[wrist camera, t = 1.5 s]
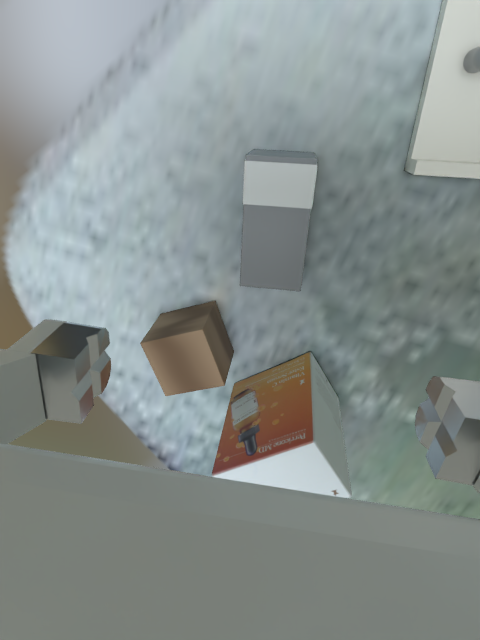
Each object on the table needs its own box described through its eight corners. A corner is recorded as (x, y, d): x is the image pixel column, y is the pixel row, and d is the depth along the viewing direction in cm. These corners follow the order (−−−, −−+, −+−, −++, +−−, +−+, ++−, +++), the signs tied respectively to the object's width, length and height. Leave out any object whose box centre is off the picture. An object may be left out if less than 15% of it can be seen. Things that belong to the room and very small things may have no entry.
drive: (314, 152, 26) (318, 159, 21) (300, 265, 30) (301, 292, 25) (253, 149, 26) (244, 154, 22) (247, 261, 30) (238, 286, 25)
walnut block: (215, 300, 32) (202, 329, 27) (234, 350, 34) (224, 385, 29) (161, 313, 33) (140, 343, 29) (182, 361, 35) (165, 396, 31)
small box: (311, 349, 33) (317, 439, 23) (339, 397, 35) (355, 498, 25) (231, 382, 35) (208, 476, 26) (261, 425, 37) (250, 527, 28)
